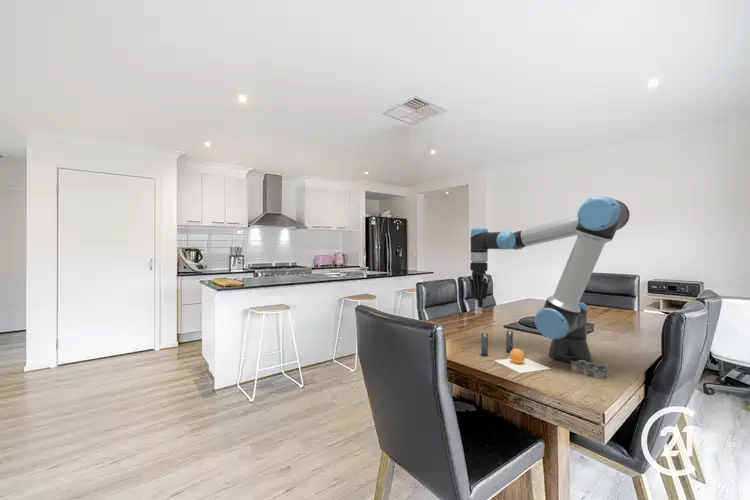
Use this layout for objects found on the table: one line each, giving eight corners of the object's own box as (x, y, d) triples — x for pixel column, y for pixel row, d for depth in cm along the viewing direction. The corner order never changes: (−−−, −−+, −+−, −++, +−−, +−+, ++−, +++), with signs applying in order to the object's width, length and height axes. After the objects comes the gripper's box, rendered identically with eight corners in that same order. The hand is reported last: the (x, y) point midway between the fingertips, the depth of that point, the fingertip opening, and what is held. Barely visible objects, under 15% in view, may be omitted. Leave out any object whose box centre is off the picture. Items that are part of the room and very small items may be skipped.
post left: (489, 356, 139) (489, 334, 139) (483, 356, 138) (483, 334, 138) (485, 354, 141) (485, 332, 141) (479, 354, 141) (480, 333, 141)
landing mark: (550, 369, 124) (550, 368, 124) (520, 373, 120) (520, 372, 120) (522, 357, 137) (522, 356, 137) (494, 360, 133) (494, 360, 133)
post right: (514, 353, 143) (514, 331, 143) (509, 353, 142) (509, 332, 142) (509, 351, 145) (510, 330, 145) (504, 351, 145) (505, 330, 145)
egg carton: (568, 371, 123) (568, 360, 123) (578, 367, 127) (578, 356, 127) (601, 380, 114) (601, 368, 114) (610, 376, 119) (610, 364, 119)
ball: (520, 345, 133) (516, 356, 135) (508, 346, 131) (505, 357, 133) (529, 354, 128) (525, 365, 130) (517, 355, 126) (514, 367, 128)
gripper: (463, 261, 159) (463, 311, 159) (480, 262, 147) (480, 317, 147) (477, 261, 161) (476, 310, 161) (495, 262, 149) (494, 316, 149)
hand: (478, 313), depth 154 cm, fingers closed
